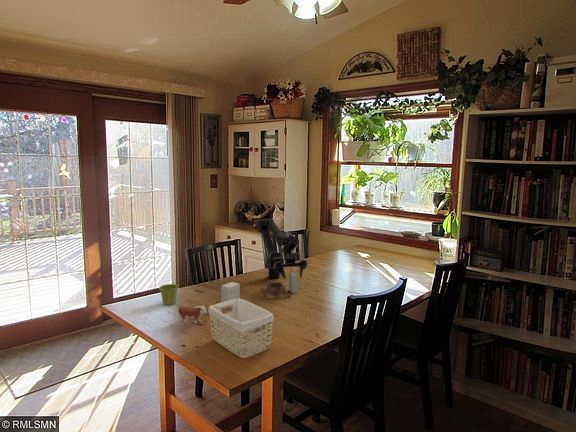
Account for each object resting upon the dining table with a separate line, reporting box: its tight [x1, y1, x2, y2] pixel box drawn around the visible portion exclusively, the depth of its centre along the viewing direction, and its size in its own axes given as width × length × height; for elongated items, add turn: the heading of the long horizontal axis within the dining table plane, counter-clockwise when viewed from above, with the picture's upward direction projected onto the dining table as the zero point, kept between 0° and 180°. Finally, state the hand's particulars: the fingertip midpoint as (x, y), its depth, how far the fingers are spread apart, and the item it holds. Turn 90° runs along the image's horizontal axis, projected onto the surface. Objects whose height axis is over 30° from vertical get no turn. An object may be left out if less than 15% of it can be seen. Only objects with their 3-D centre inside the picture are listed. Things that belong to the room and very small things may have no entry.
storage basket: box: [207, 297, 275, 359], centre depth 159 cm, size 24×16×15 cm
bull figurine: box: [178, 305, 208, 324], centre depth 180 cm, size 4×13×8 cm, turn 80°
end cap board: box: [261, 281, 291, 300], centre depth 221 cm, size 12×18×4 cm, turn 14°
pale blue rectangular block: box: [288, 272, 298, 294], centre depth 224 cm, size 3×5×10 cm, turn 14°
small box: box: [220, 281, 241, 309], centre depth 203 cm, size 8×6×10 cm
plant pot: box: [158, 283, 179, 306], centre depth 203 cm, size 9×9×9 cm
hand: (293, 278), depth 224 cm, fingers open, 9 cm apart
